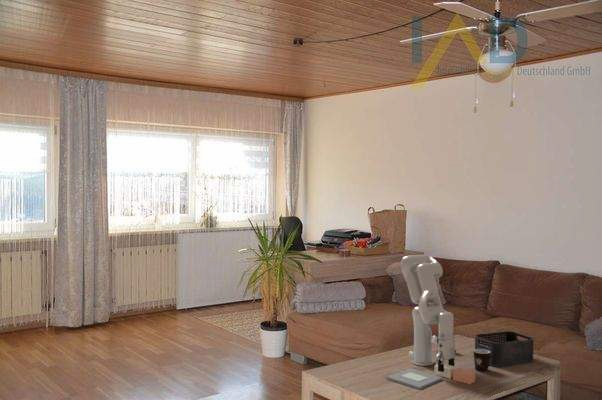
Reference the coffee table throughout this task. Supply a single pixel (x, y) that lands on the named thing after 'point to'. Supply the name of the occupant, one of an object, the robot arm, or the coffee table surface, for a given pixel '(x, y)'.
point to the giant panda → (435, 339)
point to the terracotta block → (464, 375)
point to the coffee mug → (482, 359)
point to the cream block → (445, 371)
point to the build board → (414, 378)
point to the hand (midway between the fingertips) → (446, 369)
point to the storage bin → (506, 348)
